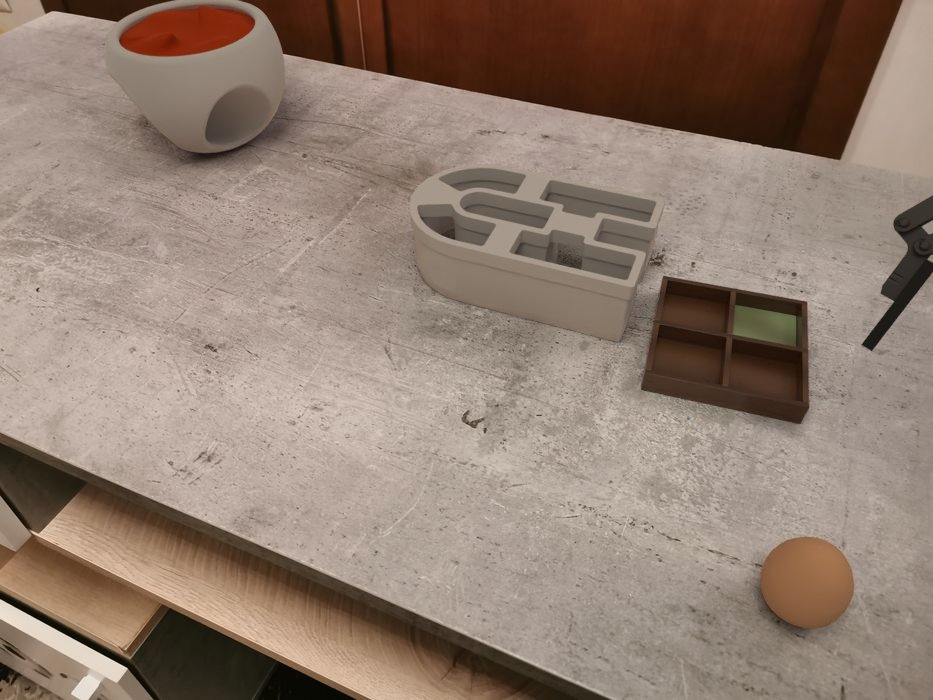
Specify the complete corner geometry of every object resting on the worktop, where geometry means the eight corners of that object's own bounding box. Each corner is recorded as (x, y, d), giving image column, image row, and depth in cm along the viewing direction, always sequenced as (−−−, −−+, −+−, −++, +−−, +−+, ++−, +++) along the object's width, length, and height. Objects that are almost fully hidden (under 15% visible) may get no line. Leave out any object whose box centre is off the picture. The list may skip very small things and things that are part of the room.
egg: (741, 620, 58) (770, 571, 53) (759, 555, 62) (788, 503, 56) (824, 658, 56) (865, 612, 50) (838, 588, 60) (877, 538, 54)
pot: (315, 102, 119) (295, -12, 106) (270, 185, 103) (240, 61, 90) (175, 96, 121) (139, -17, 108) (109, 176, 105) (58, 54, 92)
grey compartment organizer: (621, 347, 80) (633, 288, 73) (391, 287, 87) (384, 228, 81) (653, 257, 90) (666, 198, 84) (445, 210, 98) (443, 153, 91)
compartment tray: (800, 424, 72) (809, 407, 70) (640, 389, 75) (644, 373, 74) (800, 318, 82) (807, 301, 81) (659, 292, 86) (663, 275, 84)
